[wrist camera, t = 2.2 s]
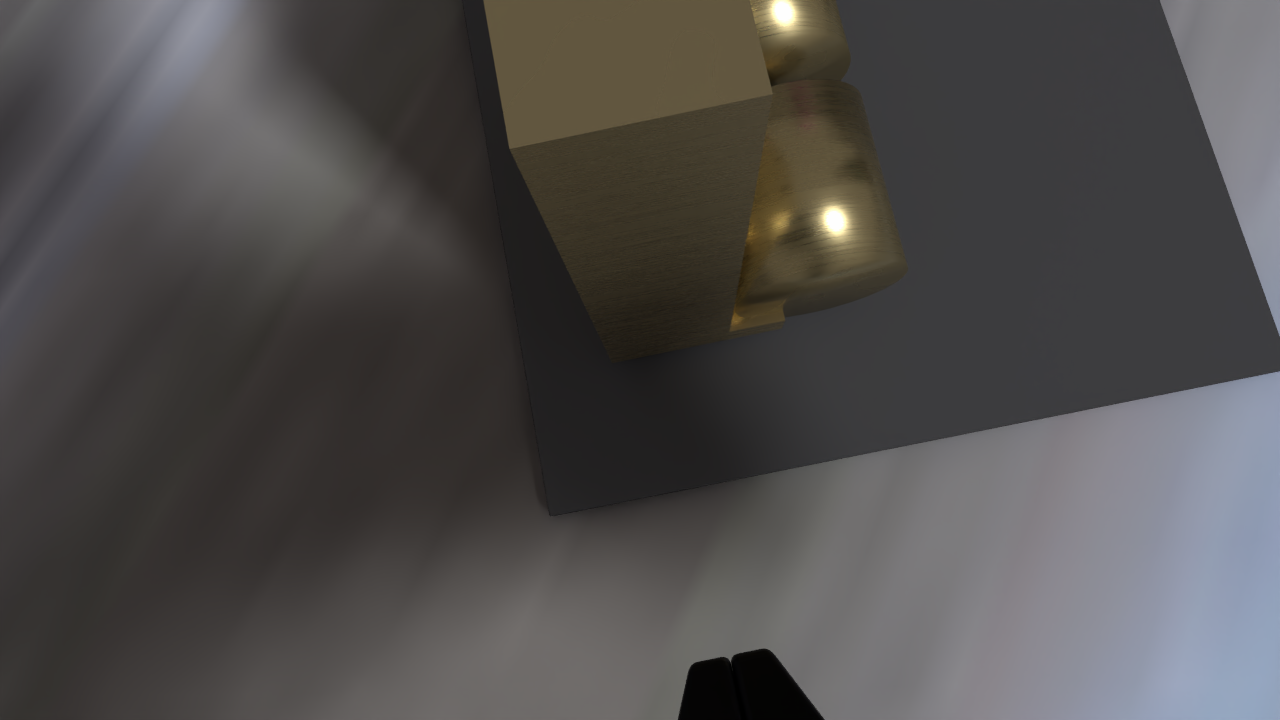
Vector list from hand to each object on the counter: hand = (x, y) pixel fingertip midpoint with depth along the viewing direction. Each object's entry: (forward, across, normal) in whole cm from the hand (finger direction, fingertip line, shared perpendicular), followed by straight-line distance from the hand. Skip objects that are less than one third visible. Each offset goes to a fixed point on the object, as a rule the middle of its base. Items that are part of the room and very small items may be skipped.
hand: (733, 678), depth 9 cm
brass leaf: (+12, -2, -1) cm, 12 cm away
